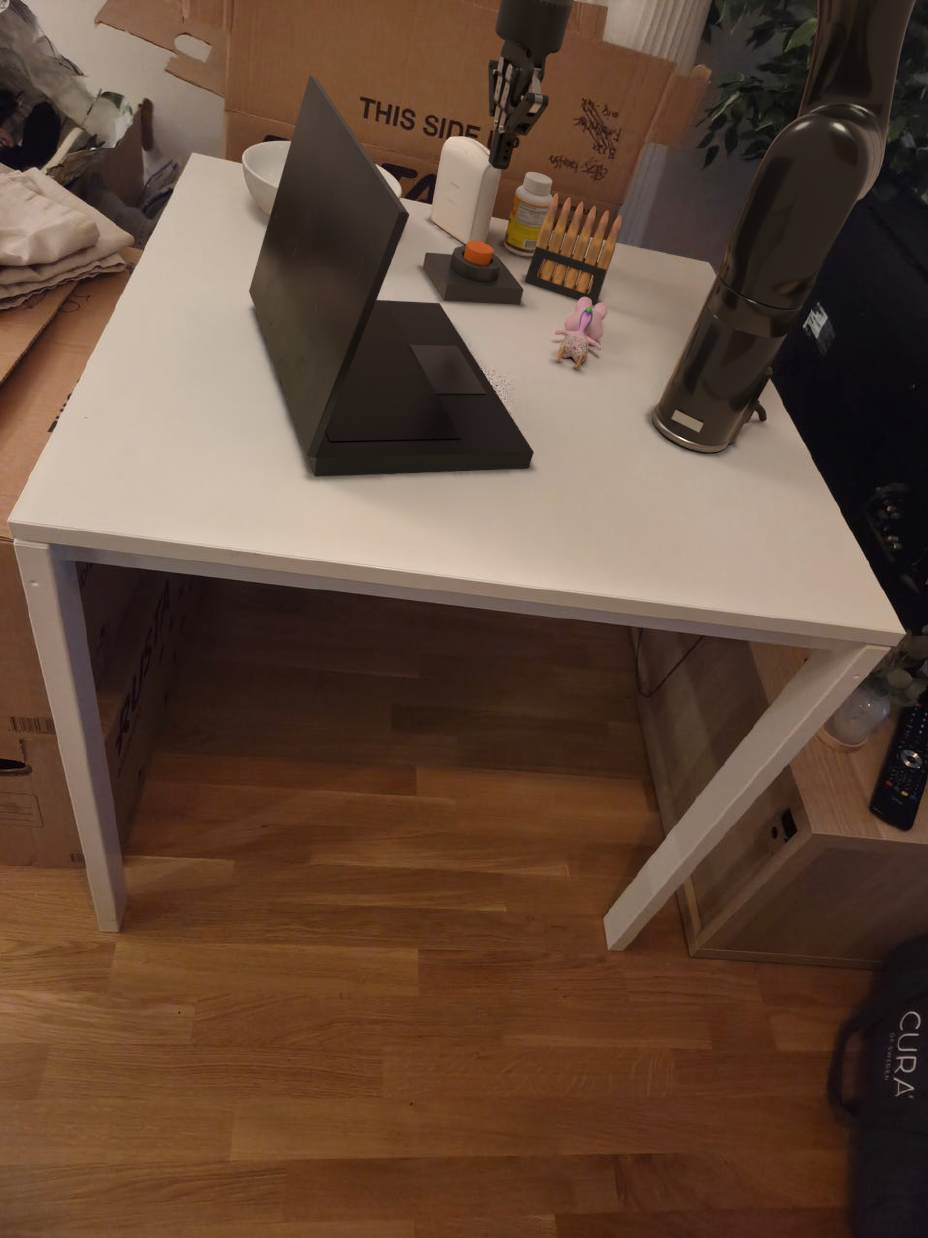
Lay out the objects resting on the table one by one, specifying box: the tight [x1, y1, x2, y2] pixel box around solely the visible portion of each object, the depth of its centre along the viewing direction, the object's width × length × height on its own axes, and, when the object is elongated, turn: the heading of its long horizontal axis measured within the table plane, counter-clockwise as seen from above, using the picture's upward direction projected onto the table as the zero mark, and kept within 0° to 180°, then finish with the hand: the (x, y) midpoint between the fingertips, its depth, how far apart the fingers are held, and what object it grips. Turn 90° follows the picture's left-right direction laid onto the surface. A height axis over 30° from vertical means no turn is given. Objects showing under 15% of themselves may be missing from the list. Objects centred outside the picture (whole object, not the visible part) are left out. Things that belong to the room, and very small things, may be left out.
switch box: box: [422, 245, 524, 306], centre depth 104 cm, size 11×9×4 cm
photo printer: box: [430, 135, 502, 245], centre depth 113 cm, size 10×4×12 cm, turn 39°
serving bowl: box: [241, 140, 403, 216], centre depth 106 cm, size 21×21×7 cm
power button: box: [464, 241, 494, 265], centre depth 103 cm, size 4×4×2 cm
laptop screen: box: [248, 75, 410, 458], centre depth 72 cm, size 22×30×1 cm
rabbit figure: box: [554, 297, 608, 371], centre depth 99 cm, size 6×6×15 cm
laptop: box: [307, 299, 535, 477], centre depth 84 cm, size 22×30×2 cm
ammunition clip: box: [524, 192, 623, 307], centre depth 107 cm, size 11×2×12 cm, turn 76°
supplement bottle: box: [503, 171, 554, 257], centre depth 115 cm, size 6×6×10 cm
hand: (497, 166), depth 95 cm, fingers closed
